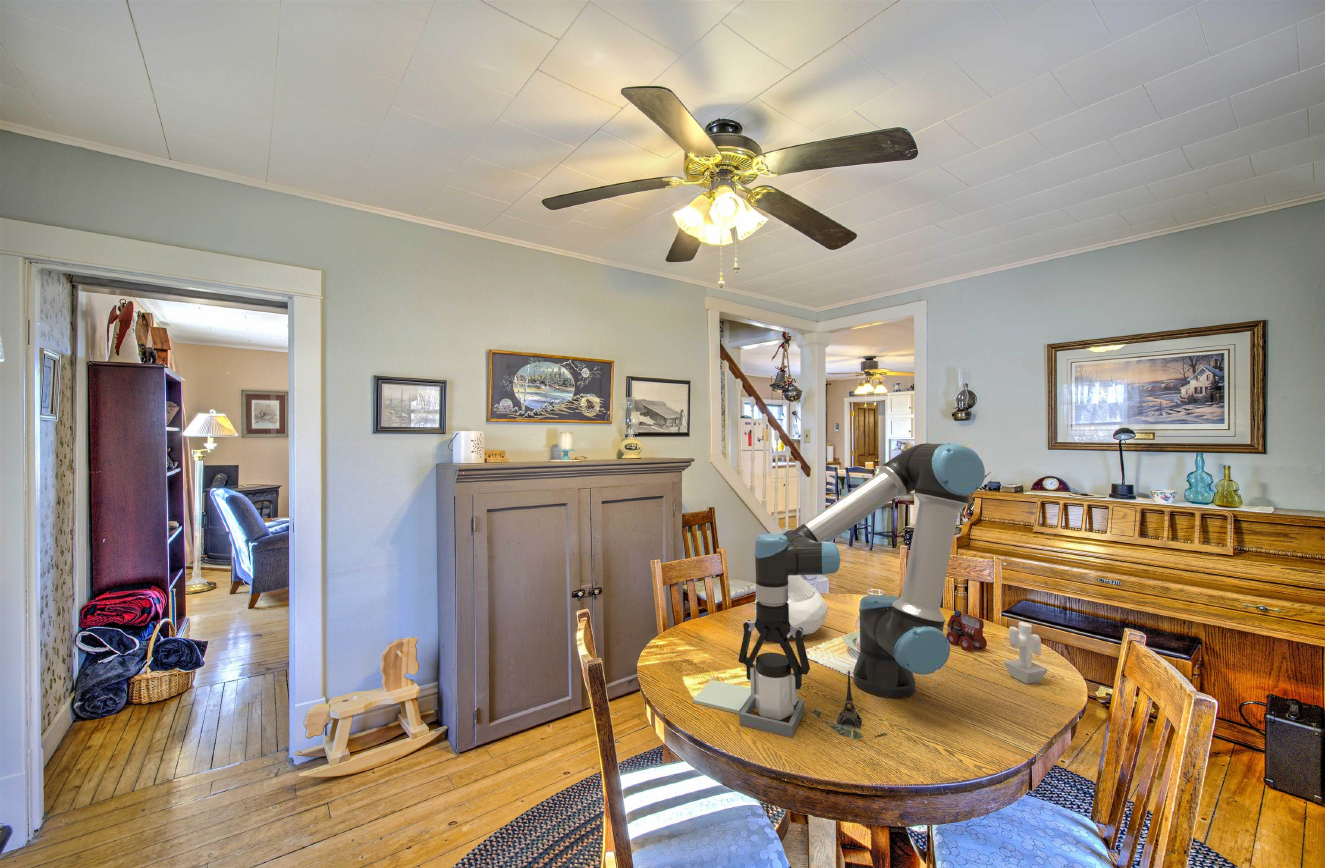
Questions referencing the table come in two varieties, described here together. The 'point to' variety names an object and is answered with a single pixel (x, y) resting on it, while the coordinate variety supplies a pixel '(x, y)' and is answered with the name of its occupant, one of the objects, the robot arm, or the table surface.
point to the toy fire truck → (966, 631)
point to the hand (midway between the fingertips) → (774, 697)
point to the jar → (773, 686)
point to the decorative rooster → (804, 605)
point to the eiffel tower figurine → (847, 718)
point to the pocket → (770, 724)
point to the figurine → (1025, 654)
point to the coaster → (723, 696)
